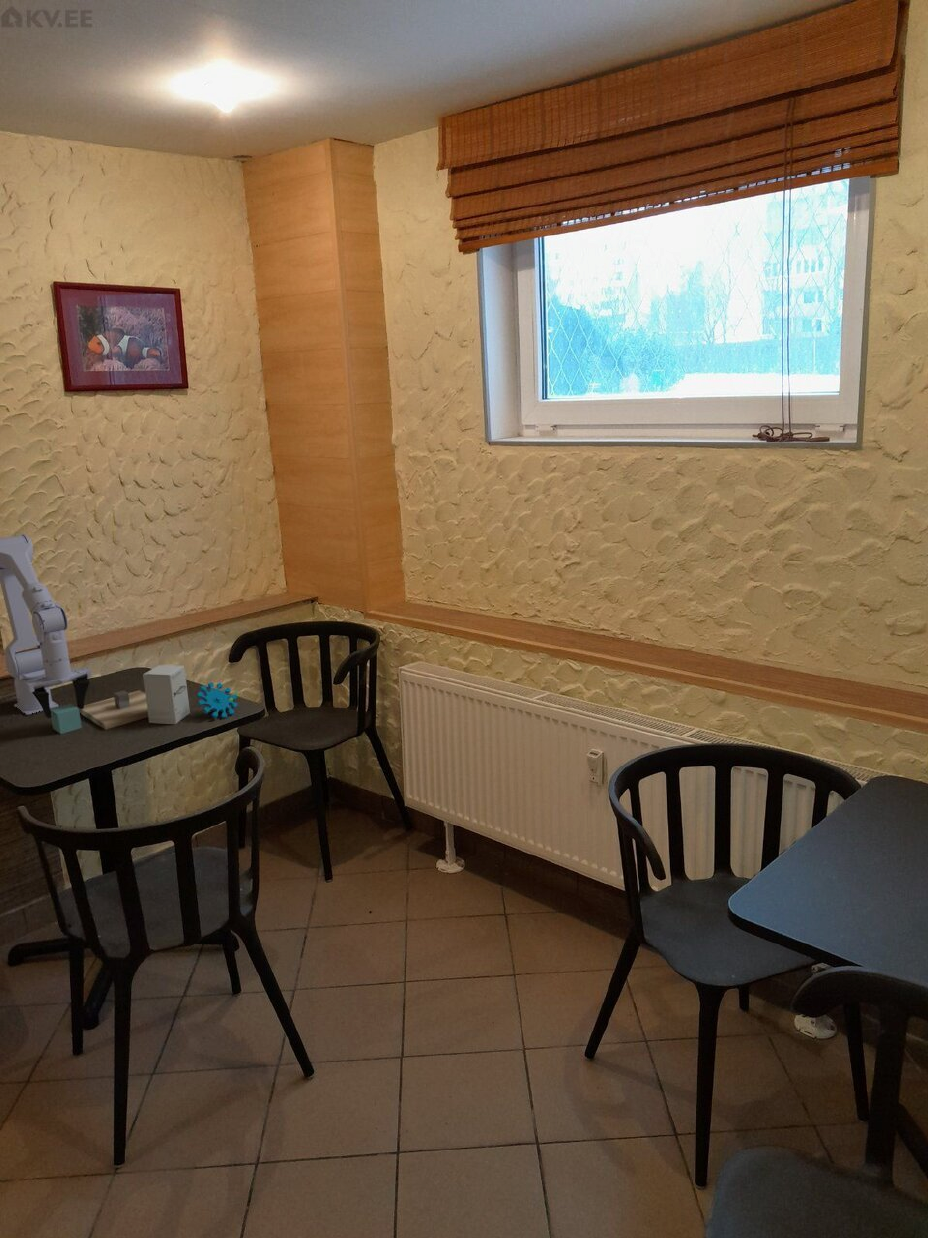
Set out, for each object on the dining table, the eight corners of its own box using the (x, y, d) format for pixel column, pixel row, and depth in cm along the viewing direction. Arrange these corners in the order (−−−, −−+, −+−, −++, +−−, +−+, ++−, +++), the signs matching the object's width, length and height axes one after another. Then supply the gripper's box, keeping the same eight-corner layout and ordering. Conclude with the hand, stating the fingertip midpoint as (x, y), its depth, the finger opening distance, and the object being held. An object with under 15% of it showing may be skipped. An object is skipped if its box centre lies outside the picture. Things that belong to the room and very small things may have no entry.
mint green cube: (53, 728, 225) (49, 709, 224) (73, 722, 229) (70, 703, 227) (60, 734, 222) (57, 714, 220) (81, 727, 225) (78, 708, 224)
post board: (79, 712, 235) (76, 694, 233) (140, 695, 245) (137, 677, 244) (105, 729, 223) (102, 710, 222) (168, 710, 234) (165, 692, 232)
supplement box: (176, 725, 225) (169, 675, 221) (148, 723, 226) (141, 674, 223) (191, 713, 232) (185, 665, 228) (164, 712, 233) (157, 664, 230)
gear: (207, 718, 223) (193, 683, 227) (198, 731, 227) (184, 696, 231) (248, 711, 231) (233, 677, 235) (238, 723, 235) (224, 690, 238)
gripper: (29, 669, 213) (39, 725, 216) (93, 654, 222) (101, 708, 226) (19, 663, 218) (29, 717, 221) (81, 648, 227) (89, 701, 231)
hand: (64, 712), depth 224 cm, fingers open, 7 cm apart
